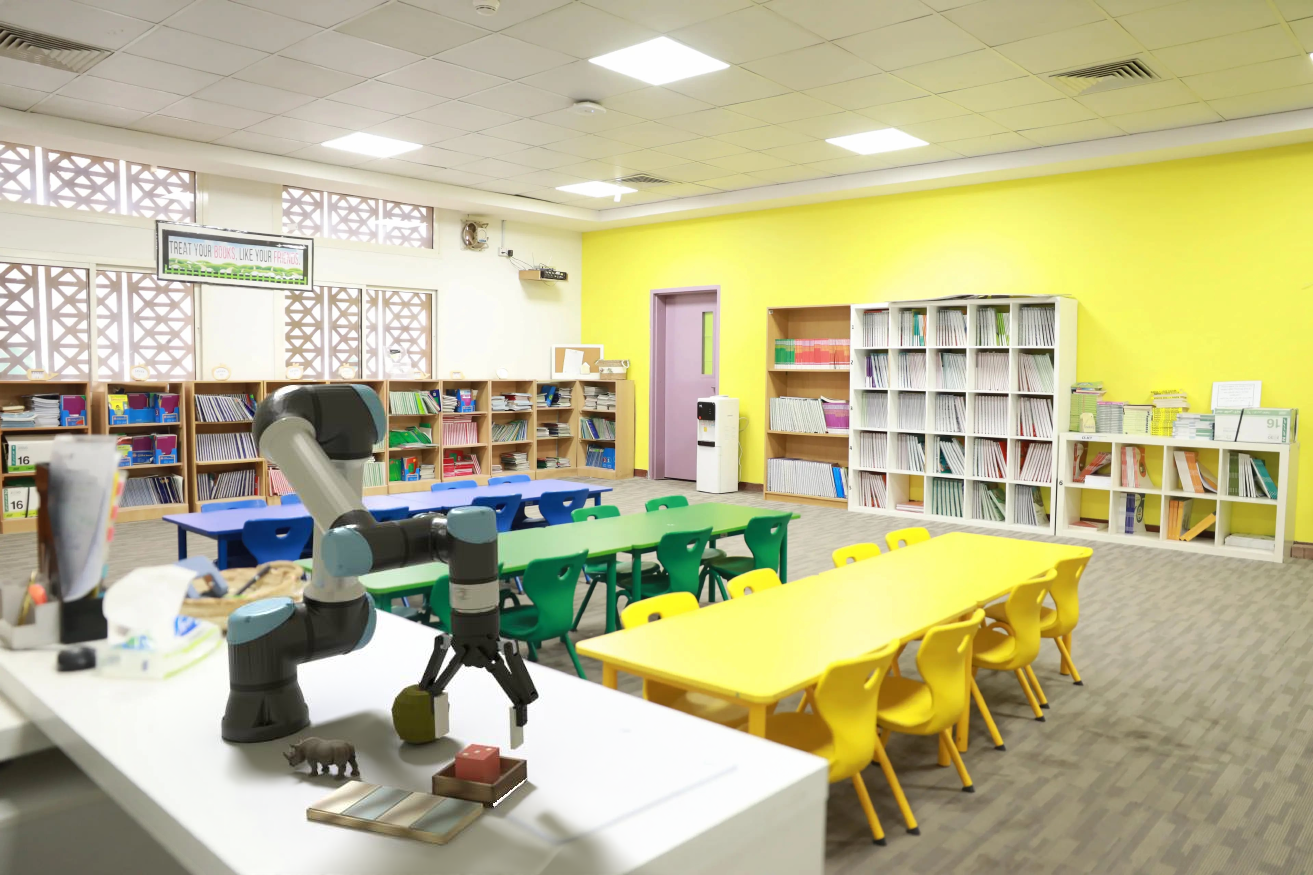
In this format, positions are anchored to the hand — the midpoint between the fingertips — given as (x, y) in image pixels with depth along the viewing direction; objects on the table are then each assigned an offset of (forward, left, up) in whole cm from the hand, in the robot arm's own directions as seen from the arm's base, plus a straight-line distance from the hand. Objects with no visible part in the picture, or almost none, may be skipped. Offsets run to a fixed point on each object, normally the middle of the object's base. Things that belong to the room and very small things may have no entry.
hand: (479, 740), depth 139 cm
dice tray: (0, 0, -8) cm, 8 cm away
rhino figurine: (-29, -4, -8) cm, 30 cm away
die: (0, 0, -7) cm, 7 cm away
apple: (-21, +13, -8) cm, 26 cm away
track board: (-8, -12, -8) cm, 16 cm away
